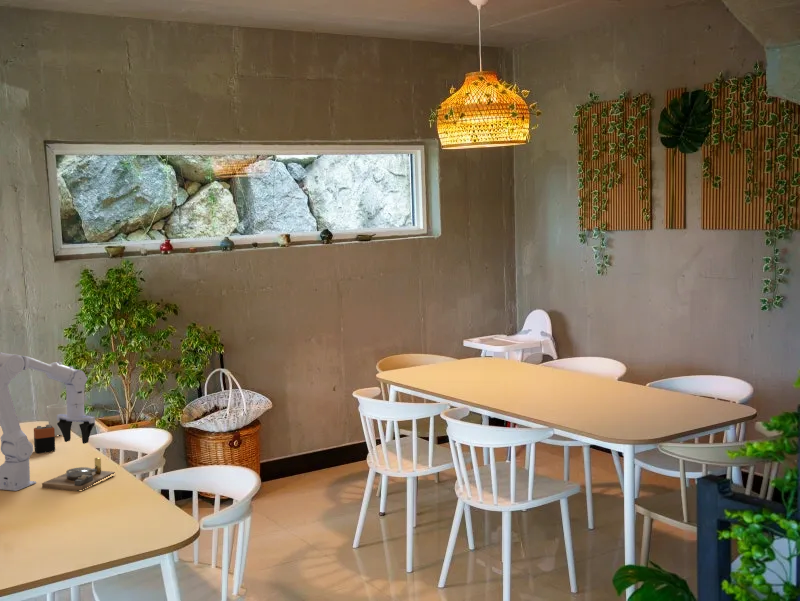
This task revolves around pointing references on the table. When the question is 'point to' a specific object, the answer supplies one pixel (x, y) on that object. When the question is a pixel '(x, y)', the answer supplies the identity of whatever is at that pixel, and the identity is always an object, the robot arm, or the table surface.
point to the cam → (83, 470)
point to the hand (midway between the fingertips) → (76, 442)
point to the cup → (52, 415)
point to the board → (71, 483)
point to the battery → (44, 439)
